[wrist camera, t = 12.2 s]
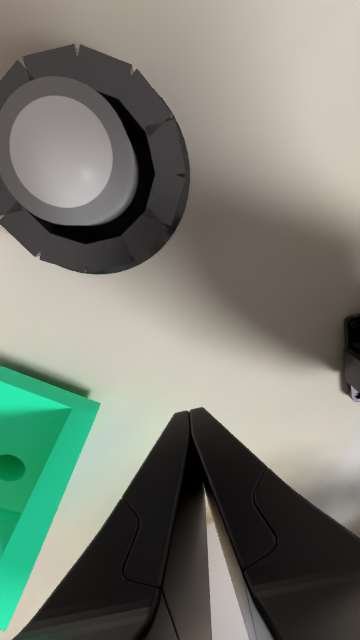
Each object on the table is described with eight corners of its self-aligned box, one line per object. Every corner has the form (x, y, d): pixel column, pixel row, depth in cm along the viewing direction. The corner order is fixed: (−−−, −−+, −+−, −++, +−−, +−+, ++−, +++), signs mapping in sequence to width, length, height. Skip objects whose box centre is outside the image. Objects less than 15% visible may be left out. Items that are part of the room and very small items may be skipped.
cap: (126, 109, 16) (107, 58, 11) (150, 214, 18) (144, 209, 13) (28, 132, 17) (-32, 92, 12) (60, 234, 18) (20, 237, 13)
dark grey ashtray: (165, 41, 16) (164, 7, 14) (205, 251, 19) (211, 255, 17) (-37, 90, 16) (-74, 66, 14) (35, 290, 20) (16, 299, 17)
